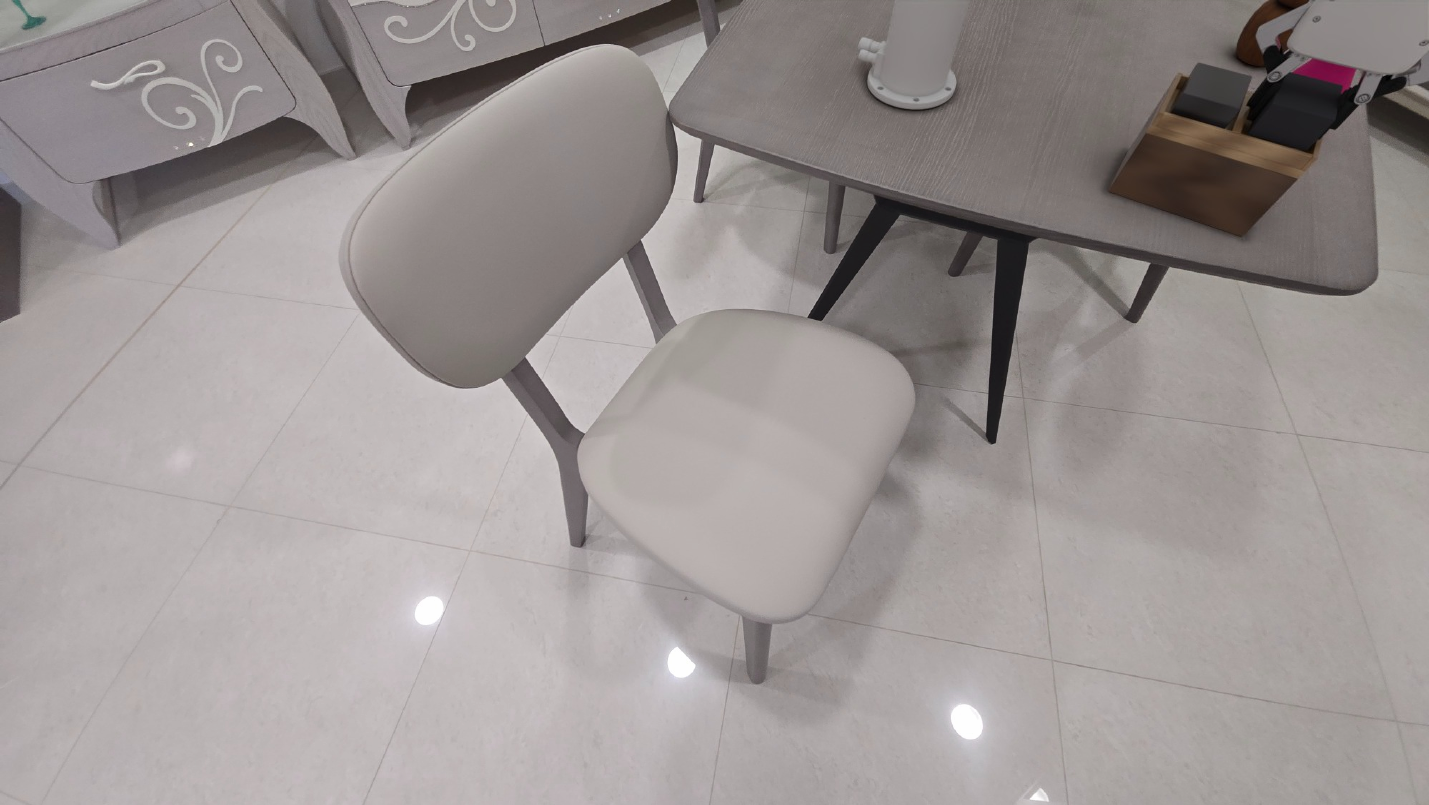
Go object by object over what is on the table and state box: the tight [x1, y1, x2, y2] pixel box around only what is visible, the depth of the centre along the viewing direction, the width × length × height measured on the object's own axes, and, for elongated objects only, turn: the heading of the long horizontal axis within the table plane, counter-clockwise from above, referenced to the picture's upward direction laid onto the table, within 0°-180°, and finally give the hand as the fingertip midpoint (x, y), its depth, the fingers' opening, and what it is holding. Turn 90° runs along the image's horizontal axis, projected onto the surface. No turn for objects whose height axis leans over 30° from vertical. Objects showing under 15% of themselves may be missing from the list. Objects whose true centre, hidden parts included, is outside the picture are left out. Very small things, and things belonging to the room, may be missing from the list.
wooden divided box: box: [1107, 62, 1324, 237], centre depth 68 cm, size 15×9×12 cm, turn 56°
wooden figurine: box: [1235, 0, 1310, 67], centre depth 81 cm, size 7×6×15 cm
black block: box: [1248, 71, 1343, 151], centre depth 62 cm, size 6×7×4 cm
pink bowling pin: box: [1291, 58, 1358, 94], centre depth 70 cm, size 7×7×20 cm
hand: (1285, 121), depth 63 cm, fingers closed on black block, 5 cm apart
